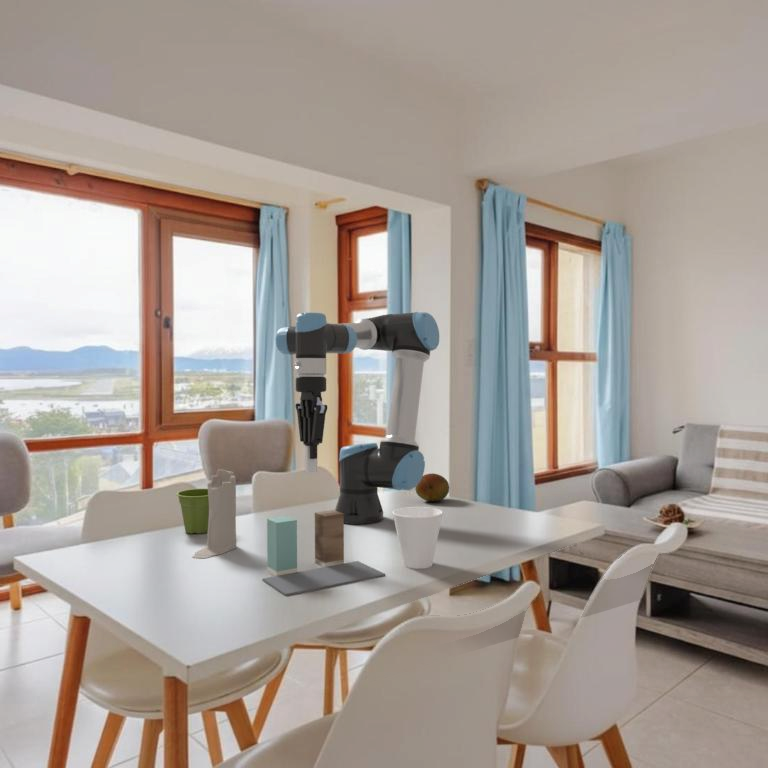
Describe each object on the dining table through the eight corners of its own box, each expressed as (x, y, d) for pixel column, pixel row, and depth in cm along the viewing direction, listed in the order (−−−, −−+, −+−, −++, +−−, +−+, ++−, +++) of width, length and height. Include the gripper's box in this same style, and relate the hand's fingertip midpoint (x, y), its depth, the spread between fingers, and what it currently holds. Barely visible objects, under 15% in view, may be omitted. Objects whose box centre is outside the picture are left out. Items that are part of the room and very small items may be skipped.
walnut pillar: (315, 563, 155) (314, 512, 155) (333, 559, 158) (333, 510, 157) (324, 568, 151) (324, 516, 151) (343, 564, 153) (343, 513, 153)
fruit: (413, 504, 224) (413, 475, 224) (418, 497, 237) (418, 469, 236) (448, 505, 222) (447, 475, 222) (450, 498, 235) (450, 470, 235)
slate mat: (262, 580, 142) (262, 578, 142) (357, 562, 155) (357, 560, 155) (285, 596, 132) (285, 594, 132) (385, 575, 145) (385, 573, 145)
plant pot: (167, 534, 183) (167, 494, 183) (194, 525, 194) (194, 487, 194) (202, 538, 179) (202, 497, 179) (228, 528, 190) (228, 489, 190)
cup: (428, 575, 145) (428, 519, 145) (382, 566, 151) (382, 513, 151) (451, 562, 155) (451, 509, 155) (408, 554, 161) (408, 504, 161)
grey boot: (185, 557, 160) (184, 475, 160) (218, 543, 173) (217, 468, 173) (210, 559, 158) (209, 477, 158) (241, 545, 171) (241, 469, 171)
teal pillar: (267, 571, 148) (267, 518, 148) (287, 567, 151) (287, 516, 151) (276, 577, 144) (276, 522, 144) (297, 573, 147) (296, 520, 147)
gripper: (285, 376, 164) (286, 469, 165) (309, 375, 154) (309, 476, 154) (312, 376, 169) (312, 467, 169) (337, 375, 158) (337, 473, 158)
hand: (311, 471), depth 161 cm, fingers closed
